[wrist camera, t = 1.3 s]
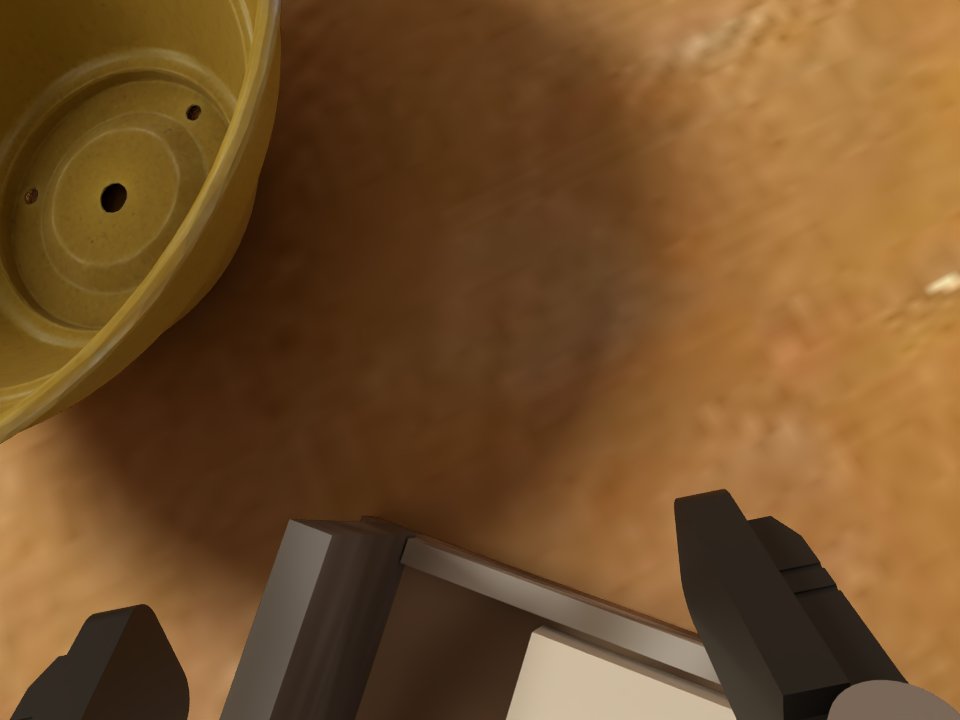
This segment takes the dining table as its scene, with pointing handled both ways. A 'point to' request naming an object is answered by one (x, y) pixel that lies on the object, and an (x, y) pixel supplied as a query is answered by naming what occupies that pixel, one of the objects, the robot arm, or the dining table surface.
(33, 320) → the planter bowl
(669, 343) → the dining table surface
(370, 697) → the rail base
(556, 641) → the carriage
